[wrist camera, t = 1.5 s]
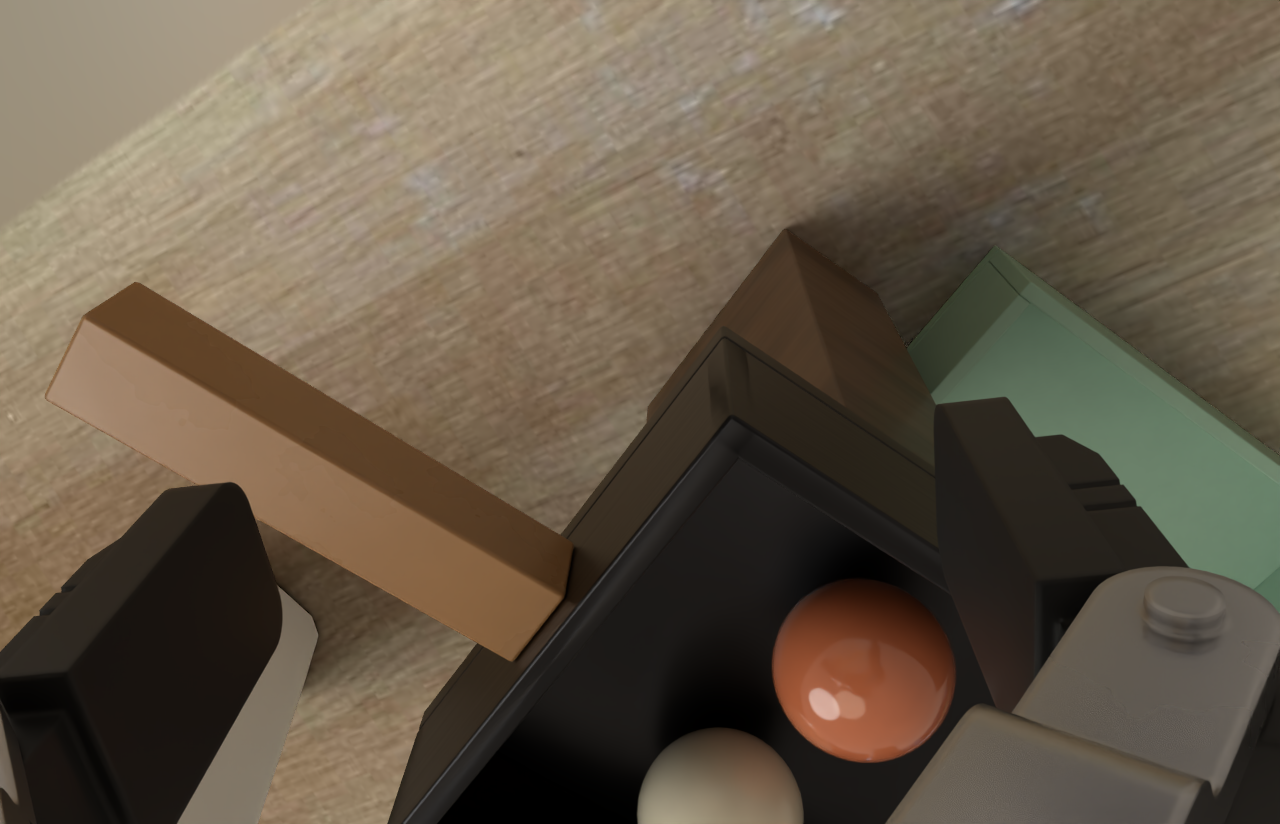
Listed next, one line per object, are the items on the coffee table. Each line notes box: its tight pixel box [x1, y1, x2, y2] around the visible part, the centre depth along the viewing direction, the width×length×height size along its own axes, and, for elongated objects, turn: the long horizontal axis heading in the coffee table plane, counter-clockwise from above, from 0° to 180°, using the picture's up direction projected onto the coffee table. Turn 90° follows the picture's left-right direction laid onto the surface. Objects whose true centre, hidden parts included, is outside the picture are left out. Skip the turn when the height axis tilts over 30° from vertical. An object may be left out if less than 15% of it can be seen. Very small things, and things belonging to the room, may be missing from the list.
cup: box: [177, 585, 319, 824], centre depth 35 cm, size 11×10×17 cm
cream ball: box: [637, 727, 804, 824], centre depth 19 cm, size 3×3×3 cm
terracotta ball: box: [772, 577, 956, 763], centre depth 18 cm, size 3×3×3 cm
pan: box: [45, 282, 996, 824], centre depth 18 cm, size 10×19×4 cm, turn 56°
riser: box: [647, 229, 936, 467], centre depth 29 cm, size 8×4×18 cm, turn 146°
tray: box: [906, 246, 1280, 614], centre depth 38 cm, size 15×17×4 cm
